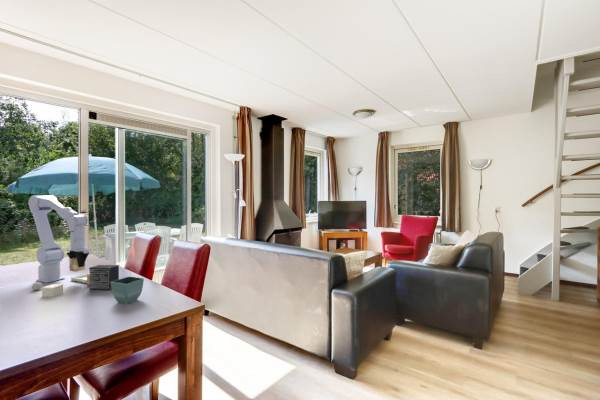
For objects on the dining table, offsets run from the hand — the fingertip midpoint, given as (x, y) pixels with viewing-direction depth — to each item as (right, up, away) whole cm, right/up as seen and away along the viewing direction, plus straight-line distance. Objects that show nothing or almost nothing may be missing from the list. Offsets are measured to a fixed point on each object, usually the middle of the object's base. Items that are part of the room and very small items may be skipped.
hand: (78, 266), depth 147 cm
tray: (+1, -8, +7) cm, 11 cm away
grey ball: (-11, -7, -10) cm, 17 cm away
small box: (+18, -9, -7) cm, 21 cm away
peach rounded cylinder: (+8, -9, -1) cm, 12 cm away
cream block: (+1, -9, -17) cm, 19 cm away
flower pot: (+39, -9, -25) cm, 47 cm away
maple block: (0, -2, 0) cm, 2 cm away
